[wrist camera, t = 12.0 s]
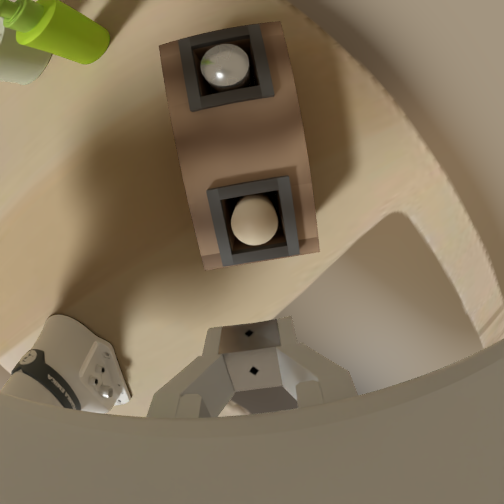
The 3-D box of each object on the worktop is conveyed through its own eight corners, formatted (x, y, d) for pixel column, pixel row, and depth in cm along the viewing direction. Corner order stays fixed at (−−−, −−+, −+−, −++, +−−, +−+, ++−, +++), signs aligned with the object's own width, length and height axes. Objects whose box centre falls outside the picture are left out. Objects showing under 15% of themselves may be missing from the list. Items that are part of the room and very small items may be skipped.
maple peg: (274, 218, 32) (281, 241, 25) (240, 224, 33) (236, 248, 25) (269, 184, 31) (274, 196, 24) (233, 190, 31) (226, 204, 24)
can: (48, 77, 27) (-8, 68, 15) (11, 90, 26) (-41, 88, 15) (59, 25, 23) (10, 5, 12) (20, 41, 23) (-27, 30, 12)
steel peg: (253, 97, 28) (252, 81, 20) (216, 103, 28) (204, 90, 20) (246, 64, 26) (244, 40, 19) (210, 71, 26) (197, 49, 19)
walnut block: (304, 225, 35) (322, 255, 25) (216, 240, 36) (203, 274, 26) (273, 50, 27) (281, 17, 18) (181, 68, 28) (155, 42, 18)
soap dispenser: (123, 31, 25) (32, -28, 7) (89, 71, 27) (-19, 42, 8) (100, 16, 24) (12, -36, 5) (68, 53, 26) (-32, 25, 7)
